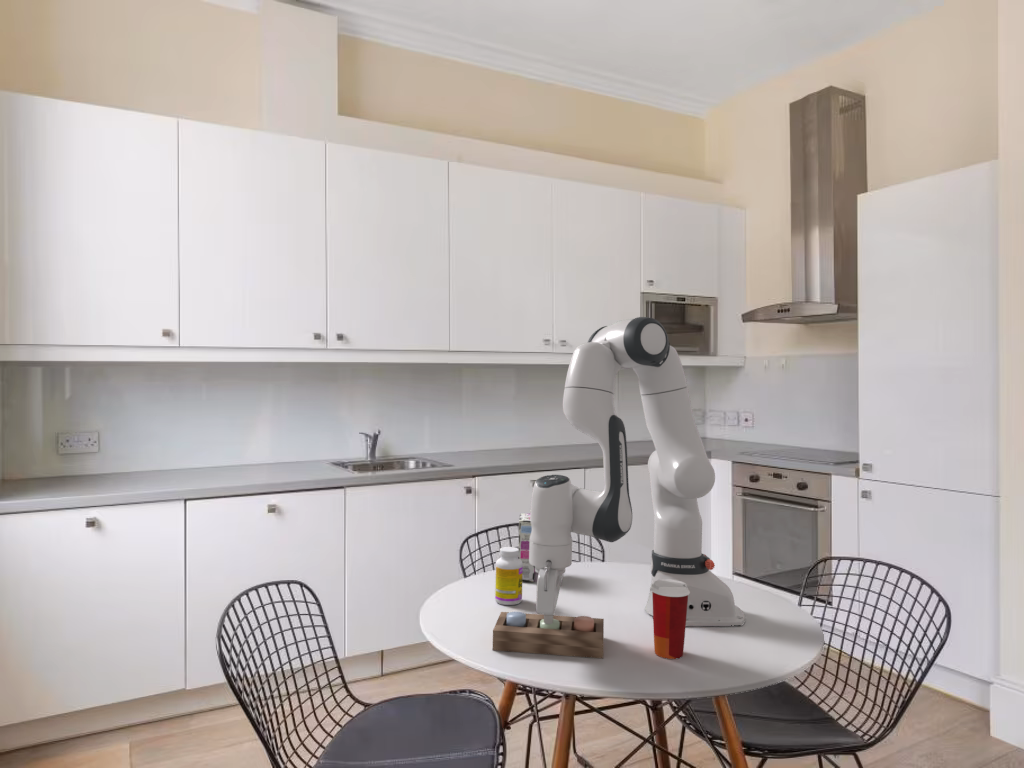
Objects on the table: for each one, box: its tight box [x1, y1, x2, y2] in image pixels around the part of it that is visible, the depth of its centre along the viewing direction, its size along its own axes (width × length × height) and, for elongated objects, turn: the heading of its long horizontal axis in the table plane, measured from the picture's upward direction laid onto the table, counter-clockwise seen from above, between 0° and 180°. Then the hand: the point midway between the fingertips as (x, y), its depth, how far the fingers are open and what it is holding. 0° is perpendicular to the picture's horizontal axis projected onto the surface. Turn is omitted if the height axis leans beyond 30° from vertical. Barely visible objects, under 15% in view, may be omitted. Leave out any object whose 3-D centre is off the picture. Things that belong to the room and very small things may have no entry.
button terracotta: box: [574, 615, 594, 632], centre depth 141 cm, size 4×4×2 cm
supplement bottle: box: [494, 546, 523, 606], centre depth 168 cm, size 7×7×13 cm
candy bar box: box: [517, 512, 536, 583], centre depth 189 cm, size 11×5×16 cm, turn 178°
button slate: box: [507, 611, 527, 627], centre depth 143 cm, size 4×4×2 cm
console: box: [492, 611, 605, 659], centre depth 142 cm, size 22×11×4 cm, turn 82°
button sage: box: [540, 619, 560, 629], centre depth 142 cm, size 4×4×2 cm
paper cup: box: [649, 579, 690, 660], centre depth 138 cm, size 8×8×14 cm
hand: (548, 621), depth 142 cm, fingers closed, pressing on button sage
